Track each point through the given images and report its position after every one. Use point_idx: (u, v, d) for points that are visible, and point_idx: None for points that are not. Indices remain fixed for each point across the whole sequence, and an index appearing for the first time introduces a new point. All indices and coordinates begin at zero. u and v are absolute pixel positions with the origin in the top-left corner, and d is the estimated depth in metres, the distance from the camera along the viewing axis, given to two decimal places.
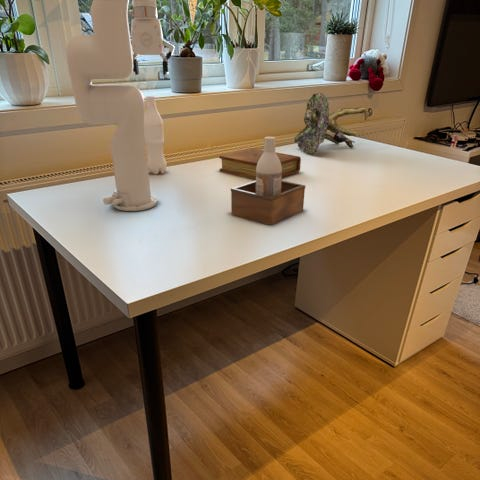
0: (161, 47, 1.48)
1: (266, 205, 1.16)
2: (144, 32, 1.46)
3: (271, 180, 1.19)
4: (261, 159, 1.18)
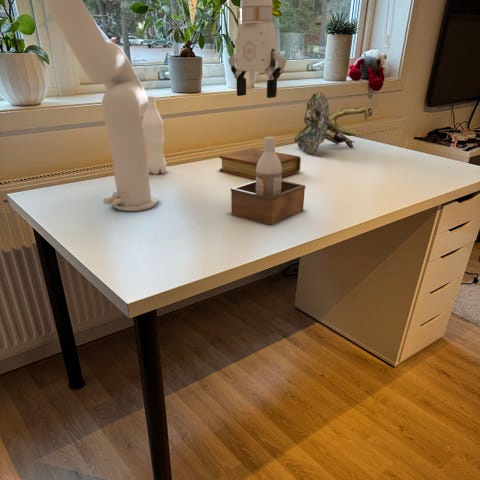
0: (265, 61, 1.08)
1: (266, 205, 1.16)
2: (248, 41, 1.08)
3: (271, 180, 1.19)
4: (261, 159, 1.18)
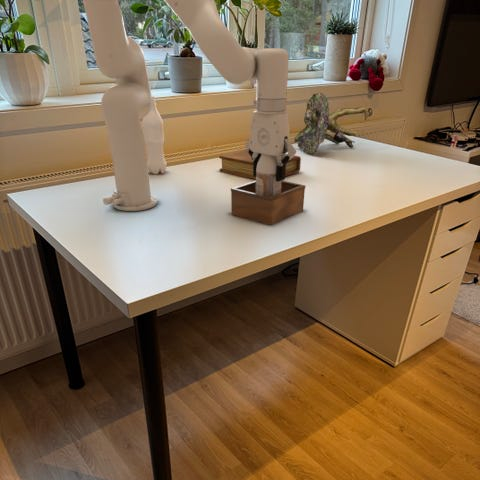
0: (278, 148, 1.13)
1: (266, 205, 1.16)
2: (262, 128, 1.13)
3: (271, 180, 1.19)
4: (261, 159, 1.18)
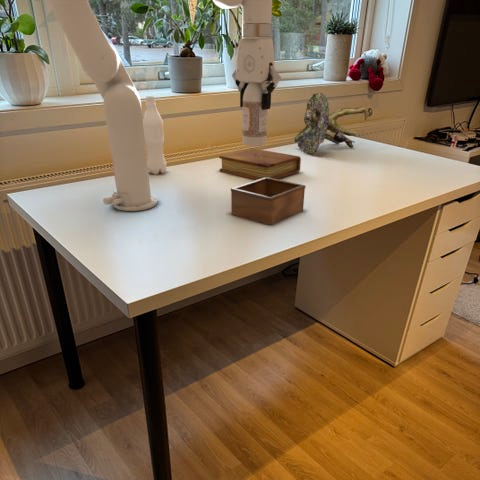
0: (263, 74, 1.17)
1: (266, 205, 1.16)
2: (248, 54, 1.17)
3: (257, 109, 1.23)
4: (247, 87, 1.22)
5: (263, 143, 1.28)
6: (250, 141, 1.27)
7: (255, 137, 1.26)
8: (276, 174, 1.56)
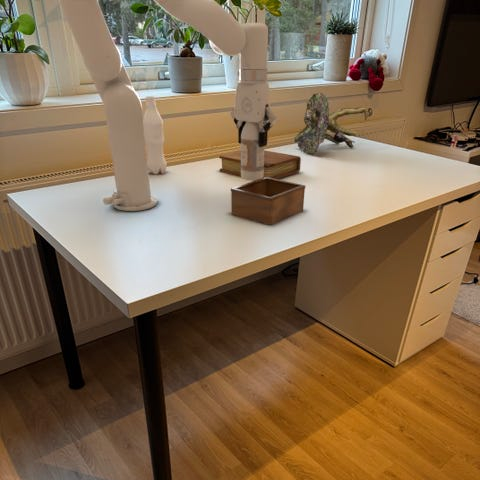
0: (260, 115, 1.24)
1: (266, 205, 1.16)
2: (245, 97, 1.25)
3: (254, 146, 1.30)
4: (245, 126, 1.29)
5: (260, 177, 1.36)
6: (248, 175, 1.35)
7: (252, 171, 1.34)
8: (276, 174, 1.56)
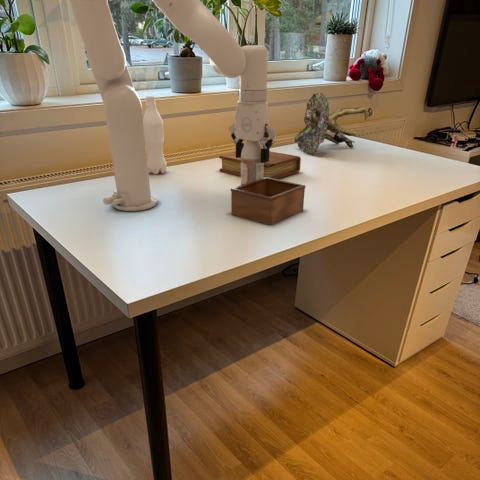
0: (259, 134, 1.27)
1: (266, 205, 1.16)
2: (245, 116, 1.27)
3: (254, 165, 1.33)
4: (245, 146, 1.32)
5: None
6: None
7: None
8: (276, 174, 1.56)
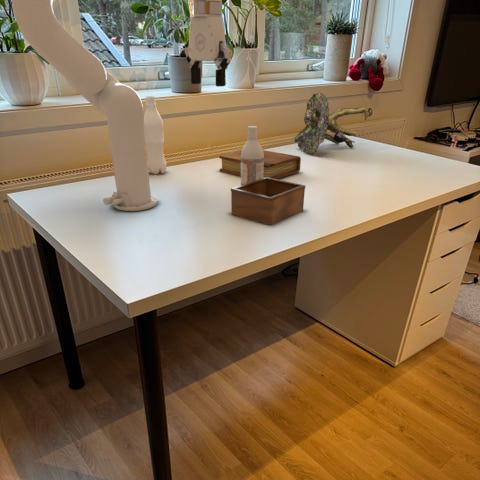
0: (213, 52, 1.17)
1: (266, 205, 1.16)
2: (198, 33, 1.18)
3: (254, 165, 1.33)
4: (245, 146, 1.32)
5: None
6: None
7: None
8: (276, 174, 1.56)
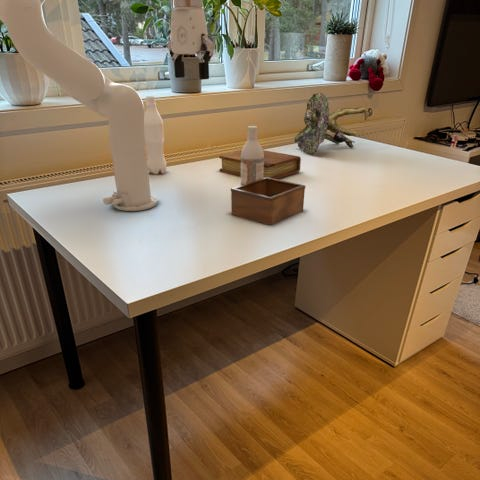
0: (195, 45, 1.17)
1: (266, 205, 1.16)
2: (180, 26, 1.17)
3: (254, 165, 1.33)
4: (245, 146, 1.32)
5: None
6: None
7: None
8: (276, 174, 1.56)
